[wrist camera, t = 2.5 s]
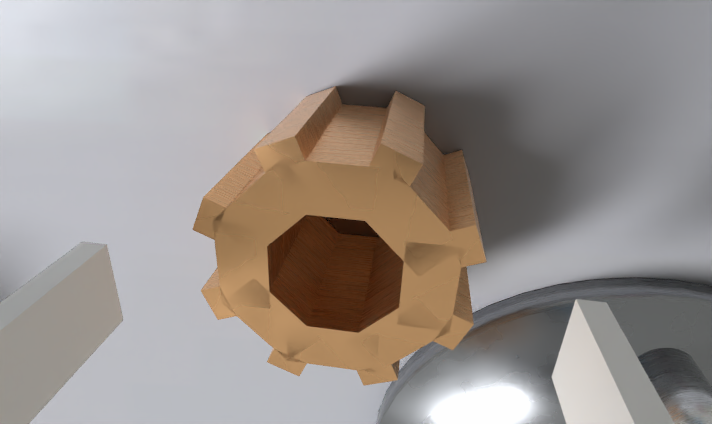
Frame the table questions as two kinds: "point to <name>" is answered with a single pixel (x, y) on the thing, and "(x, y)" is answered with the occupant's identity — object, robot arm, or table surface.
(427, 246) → the planet gear
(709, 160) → the table surface
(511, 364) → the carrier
